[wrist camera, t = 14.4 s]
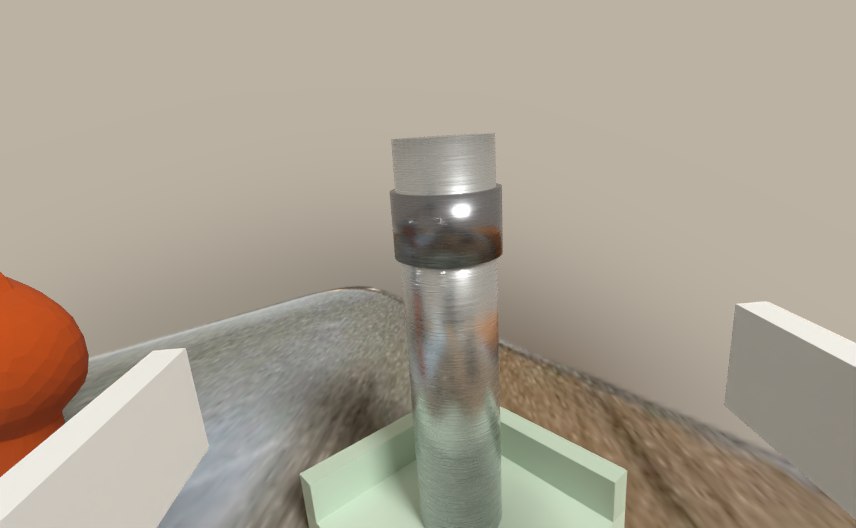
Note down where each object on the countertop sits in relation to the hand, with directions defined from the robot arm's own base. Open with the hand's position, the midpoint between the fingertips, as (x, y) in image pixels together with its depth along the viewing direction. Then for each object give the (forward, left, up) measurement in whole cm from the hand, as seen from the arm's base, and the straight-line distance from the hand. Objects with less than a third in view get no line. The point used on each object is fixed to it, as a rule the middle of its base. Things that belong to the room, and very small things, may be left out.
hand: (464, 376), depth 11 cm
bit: (-5, +4, -10) cm, 12 cm away
